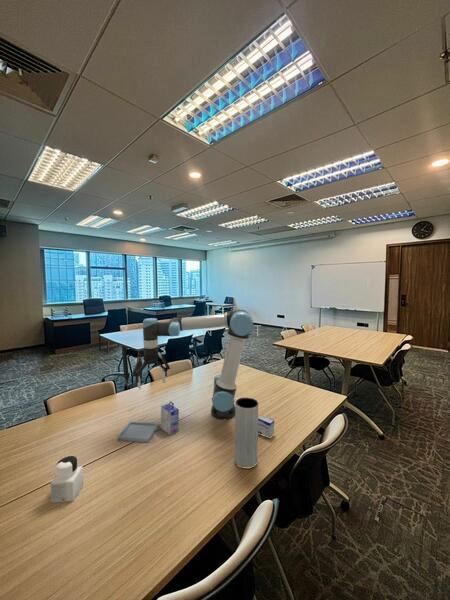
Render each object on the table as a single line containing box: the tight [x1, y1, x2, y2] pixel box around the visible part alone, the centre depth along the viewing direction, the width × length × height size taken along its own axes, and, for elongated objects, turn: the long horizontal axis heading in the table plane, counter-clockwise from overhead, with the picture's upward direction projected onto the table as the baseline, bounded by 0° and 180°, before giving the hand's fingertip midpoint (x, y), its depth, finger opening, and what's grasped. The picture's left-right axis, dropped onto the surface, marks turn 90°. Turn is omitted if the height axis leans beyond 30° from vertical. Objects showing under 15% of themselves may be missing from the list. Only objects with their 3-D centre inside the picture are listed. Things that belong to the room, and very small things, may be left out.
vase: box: [234, 397, 259, 467], centre depth 111 cm, size 10×10×27 cm
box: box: [258, 415, 275, 437], centre depth 132 cm, size 8×4×9 cm, turn 52°
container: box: [50, 455, 84, 503], centre depth 94 cm, size 8×8×13 cm
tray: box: [116, 420, 159, 443], centre depth 132 cm, size 16×14×2 cm
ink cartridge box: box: [160, 401, 180, 436], centre depth 135 cm, size 10×6×14 cm, turn 45°
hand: (151, 385), depth 139 cm, fingers open, 13 cm apart
